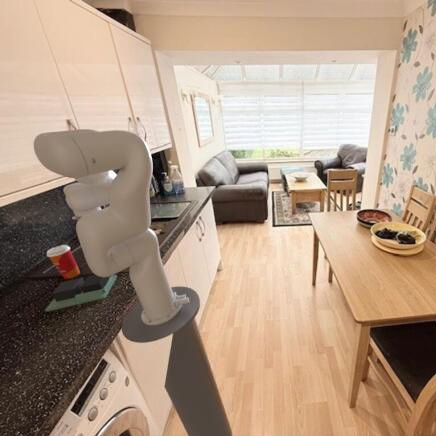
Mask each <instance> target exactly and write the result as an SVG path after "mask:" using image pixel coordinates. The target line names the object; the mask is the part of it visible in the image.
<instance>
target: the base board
mask: <svg viewBox="0 0 436 436" xmlns="http://www.w3.org/2000/svg"><path fill="white" fill-rule="evenodd" d="M117 278H118V275H117V274H114V275H112V276H109V277H108V281H107V283H106V284H105V286H104V288H103V289H100V290H96V291H91V292H87V293H83V291H82V290H81V288H80V287H81V286H82V284H83V283H84V281H85V280H84V279H83V277H80V278H75V279H74V278H73V279H68V280H66V281H61V282H60V283H59V284H58V285H57V287H56V288H55V289H54V290H52V291H53V292H51V296H52V297H53V299H52V301H50V303H49V304H48V305H47V306H46V308H45V309H44V312H46V313H47V312H53V311H57V310H62V309H65V308H69V307H74V306H78V305H82V304H86V303H92V302H95V301H100V300H104V299H106V298H107V296H108V294H109V292H110V291H111V289H112V287H113V285H114V283H115V281H116V280H117Z"/></svg>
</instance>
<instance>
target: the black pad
mask: <svg viewBox="0 0 436 436" xmlns="http://www.w3.org/2000/svg"><path fill="white" fill-rule="evenodd" d="M83 281H84V283H83V284H82V286H81V287H80V288H81V290H82V291H83V293H87V292H91V291H96V290H100V289H103V288H104V286H105V284H106V283H107V281H108V277H99V276H97V275H95V274H94V275H91V276H87V277H86V278H85V280H83Z"/></svg>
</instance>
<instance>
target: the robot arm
mask: <svg viewBox="0 0 436 436" xmlns="http://www.w3.org/2000/svg"><path fill="white" fill-rule="evenodd" d="M33 150H34V154H35V156H36V158H37V160H38V161H39V163H40V164H41V165H42V166H43V167H44V168H45V169H47V171H50V172H51V173H54V174H57V175H60V176H62V177H65V178H69V179H73V180H75V181H76V182H74V183H70V184H67V185H65V186H64V187H63V194H64V195H65V201H66V204H67V206H68V207H69V209H71V210H72V212H73V214H74V215H73V216H72V217H71V218H72V220H73V221H76V225H75V231H76V235H77V238H78V241H79V244H80V246H81V250H82V253H83V255H84V259H85V261H86V264H87V267H88V268H89V269H90V271H91V272H92V273H93V274H94V276H95V275H97V276H99V277H109V276H112V275H117V274H118V273H120V272H122V271H124V270H125V269H127V268H129V270H128V271H129V274H128V277H129V280H130V282H131V284H132V286H133V289H134V291H135V293H136V295H137V298H138V300H139V302H141V305H142V307H143V309H144V310H143V312H142V315H141V319H142V321H143V322H144V323H145V324H146V325H151V326H153V325H160V324H163V323H165V322H167V321H169V320H171V319H172V318H173V317H175V316H176V315H177V314H178V312H179V311H180V309H181V307H182V304H187V303H189V297H187V298H186V294H184V295H181V296H178V295H177V294H176V292H173V291H172V289H171V287H172V286H171V283H170V281H169V277H168V275H167V272H166V269H165V267H164V263H163V260H162V257H161V253H160V244H159V239H158V236H157V234H156V232H155V231H154V230H153V229H151V228H150V227H151V225H152V224H151V223H152V214H151V197H150V189H151V183H152V178H153V170H154V166H153V165H154V164H153V158H152V154H151V151H150V148H149V146H148V143H147V142H146V141H145V139H144V138H143V137H142V136H141V135H140V134H138V133H136V132H134V131H130V130H123V129H122V130H120V129H117V130H116V129H114V130H112V129H111V130H103V131H102V130H101V131H100V130H99V131H98V130H95V129H91V128H90V129H89V128H82V129H81V128H79V129H70V130H61V131H60V130H58V131H50V132H43V133H39V134H37V136H35V138H34V140H33ZM116 170H119V171H118V173H116V172H115V171H116ZM106 205H108V206H107V207H105V208H102V207H103V206H106Z"/></svg>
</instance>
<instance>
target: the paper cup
mask: <svg viewBox="0 0 436 436" xmlns="http://www.w3.org/2000/svg"><path fill="white" fill-rule="evenodd" d="M46 257H47V258H49V259H50V261H51V262H52V264H53V265H54V266H55V268H56V269H57V271H58V273H59V274H60V275H61V276H62V277H63V279H64V280H72V279H74V278H76V277H78V276H80V274H81V271H80V269H79V266H78V264H77V262H76V259H75V257H74V255H73V253H72V251H71V246H69V245H67V244H60V245H57V246H55V247H52V248H49V249H48V250H47V251H46Z"/></svg>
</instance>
